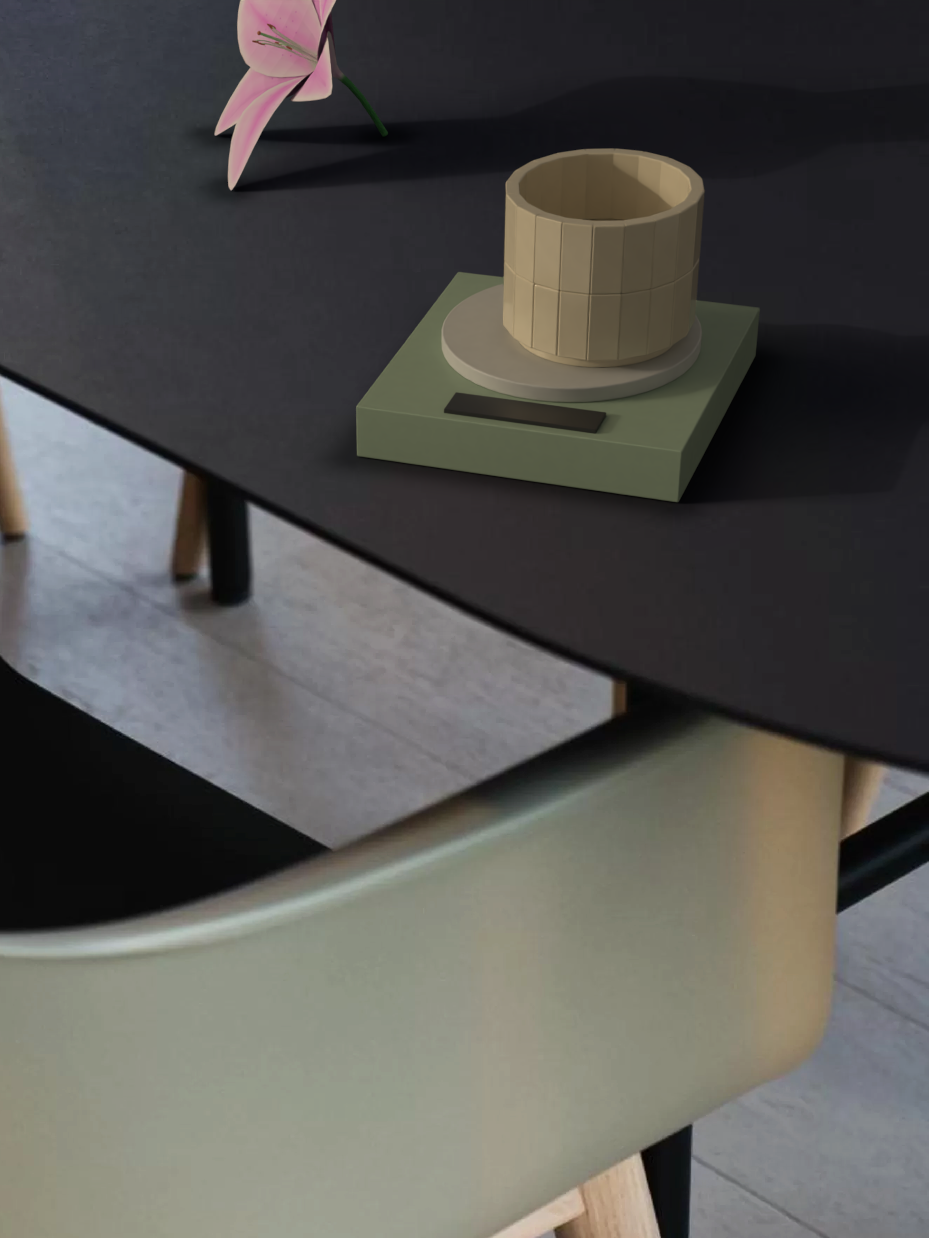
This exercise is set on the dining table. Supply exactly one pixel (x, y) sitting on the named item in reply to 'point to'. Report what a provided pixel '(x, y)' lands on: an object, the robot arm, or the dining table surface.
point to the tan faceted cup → (601, 255)
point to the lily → (280, 68)
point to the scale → (553, 400)
